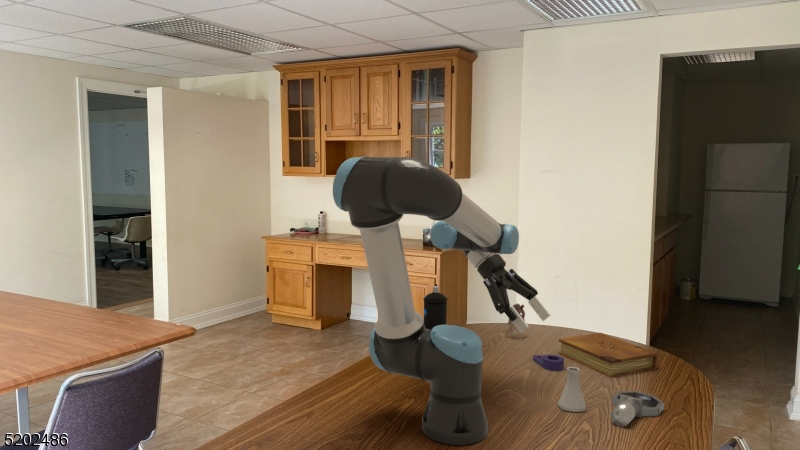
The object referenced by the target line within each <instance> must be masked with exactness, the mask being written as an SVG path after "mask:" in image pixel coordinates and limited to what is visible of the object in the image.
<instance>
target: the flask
mask: <svg viewBox="0 0 800 450" xmlns="http://www.w3.org/2000/svg"><path fill="white" fill-rule="evenodd" d="M566 371H567V378H566V382H565V385H564V388H563V391H562V393H561V395H560V398H559V399H558V401H557V402H558V403H557V404H556V405H557V407H558V408H559V409H561V410H562V411H567V412H573V413H580V412H586V410H587V404H586V401H585V398H584V396H583V392H582V389H581V384H580V378H579V375H580V374H579V373H580V371H581V369H580V368H579V367H576V366H575V367H574V366H568V367H567V368H566Z"/></svg>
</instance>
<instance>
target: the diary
mask: <svg viewBox="0 0 800 450" xmlns="http://www.w3.org/2000/svg"><path fill="white" fill-rule="evenodd" d="M558 342H559V343H561V348H560V352H559V351H558V352H557V353H558V354H557V355H559V354H560V355H559V356H561V355H562V356H561V357H563V358H564V357H565V358H567V359H569V360H570V361H573V362H576V363H577V364H580V365H581V366H584V367H586V368H588V369H590V370H592V371H595V372H598V373H600V374H602V375H604V376H605V377H609V378H610V379H611V377H612V378H616V376H617V377H621V376H620V375H623V376H626V375H625V374H628V375H630V374H629V373H633V374H636V373H635V372H639V373H641V372H640V371H644V372H646V371H645V370H649V371H652V370H651V369H655V370H657V369H658V362H659V361H658V360H659V355H658V353H657V352H654V351H652V350H649V349H646V348H643V347H641V346H638V345H635V344H633V343H629V342H627V341H624V340H621V339H619V338H616V337H614V336H611V335H608V334H605V333H603V332H595V333H588V334H583V335H576V336H567V337H562V338H558ZM656 368H657V369H656Z"/></svg>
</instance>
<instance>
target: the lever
mask: <svg viewBox="0 0 800 450" xmlns="http://www.w3.org/2000/svg"><path fill="white" fill-rule="evenodd" d="M532 361H533V362H534V363H536V364H537V365H539V366H540V367H541V368H543V369H544V370H546V371H551V372H561V371H564V369H565V368H564V366H565V358H564V356H561V355H558V354H545V355H539V354H536V355H533V356H532Z"/></svg>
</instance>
